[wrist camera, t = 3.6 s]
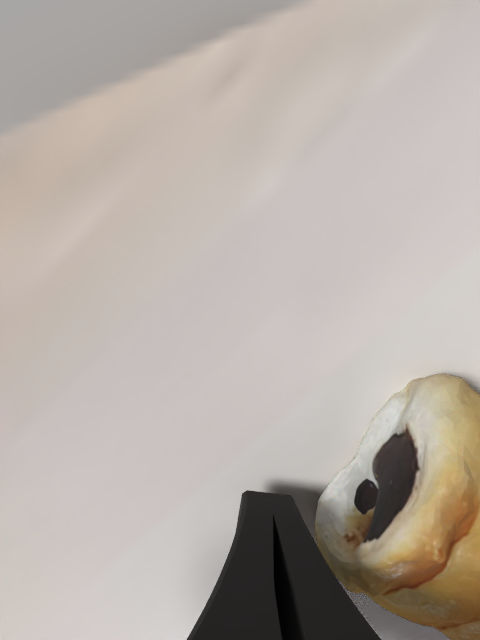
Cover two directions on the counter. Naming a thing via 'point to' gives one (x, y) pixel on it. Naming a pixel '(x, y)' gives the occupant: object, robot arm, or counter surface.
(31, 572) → the counter surface
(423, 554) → the pastry
